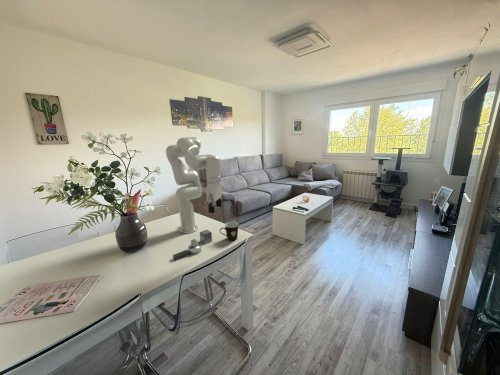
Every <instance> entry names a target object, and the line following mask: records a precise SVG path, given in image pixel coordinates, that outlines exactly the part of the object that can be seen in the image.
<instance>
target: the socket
mask: <svg viewBox="0 0 500 375" xmlns="http://www.w3.org/2000/svg"><path fill="white" fill-rule="evenodd" d="M212 234H213V233H212V232H211V231H210V230H209V229H205V230H202V231H200V232H199V241H200V242H201V243H203V244H204V245H205V244H209V243H211V242H213V235H212Z"/></svg>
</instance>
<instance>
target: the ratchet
mask: <svg viewBox="0 0 500 375" xmlns="http://www.w3.org/2000/svg"><path fill="white" fill-rule="evenodd" d="M201 248H202V246H201V244H200V243H198V240H197V239H195V238H193V239H191V240H190V245H188V247H187V249H185V250H181V251H180V252H178V253H174V254H172V259H173V260H174V262H175V261H178V260H180V259H181V260H182V258H185V257H188V256H191V255H193V256H194V255H198V254H199V253H201V251H202V249H201Z"/></svg>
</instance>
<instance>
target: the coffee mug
mask: <svg viewBox="0 0 500 375" xmlns="http://www.w3.org/2000/svg"><path fill="white" fill-rule="evenodd" d="M222 229H224V231H225V232H226V234H225V233H222V232H221V230H222ZM219 233H220V234H221V235H223V236H226V239H227V241H229V242H234V241H235V242H236V241H237V240H238V236H239V235H238V234H239V222H237V221H228V222H225V224H224V227H220V228H219Z"/></svg>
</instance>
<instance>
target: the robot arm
mask: <svg viewBox="0 0 500 375" xmlns="http://www.w3.org/2000/svg"><path fill="white" fill-rule="evenodd" d="M201 147H202V144H201V141H200V139H199V138H197V137H191V136H190V137H187V136H186V137H180V138H178V139H177V141H176V144H171V145H170V144H169V145H168V146H167V147H166V149H165V154H166V158H167V160H168V162H169V164H170V166H171V170H172V173H173V178H174V181H175V184H176V185H177V186H181V187H178V188H177V189H176V191H175V195H176V199H177V203H178V209H179V210H178V211H179V219H180V220H179V221H180V227H179V229H178V231H179V232H180V234H191V233H194V232H196V231H197V230H198V226H197V225H196V221H195V211H194V210H195V209H194V204H193V203H192V202H191V201H190V200H194V199H198V198H201V197H202V195H203V189H202V185H201V181H200V177H199V174H198V172H197V170H204V169H205V173H206V176H205V177H206V203H207V206H208V213H209V214H215V212H216V211H215V208H216V207H217V208H222V207H223V206H222V205H223V204H222V199H223V198H222V196H223V195H222V192H223V191H222V185H221V182H222V177H221V176H222V174H221V171H222V170H221V159H220V156H218V155H213V154H200V149H201ZM180 158H184V162H185V163H186V165H187V166H188V167H189V168H190V170H189V169H188V170H187V169H186V165H185V163H184V162H183V161H182V159H180ZM184 185H185V186H184ZM186 185H187V186H186ZM215 205H216V207H215Z"/></svg>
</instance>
